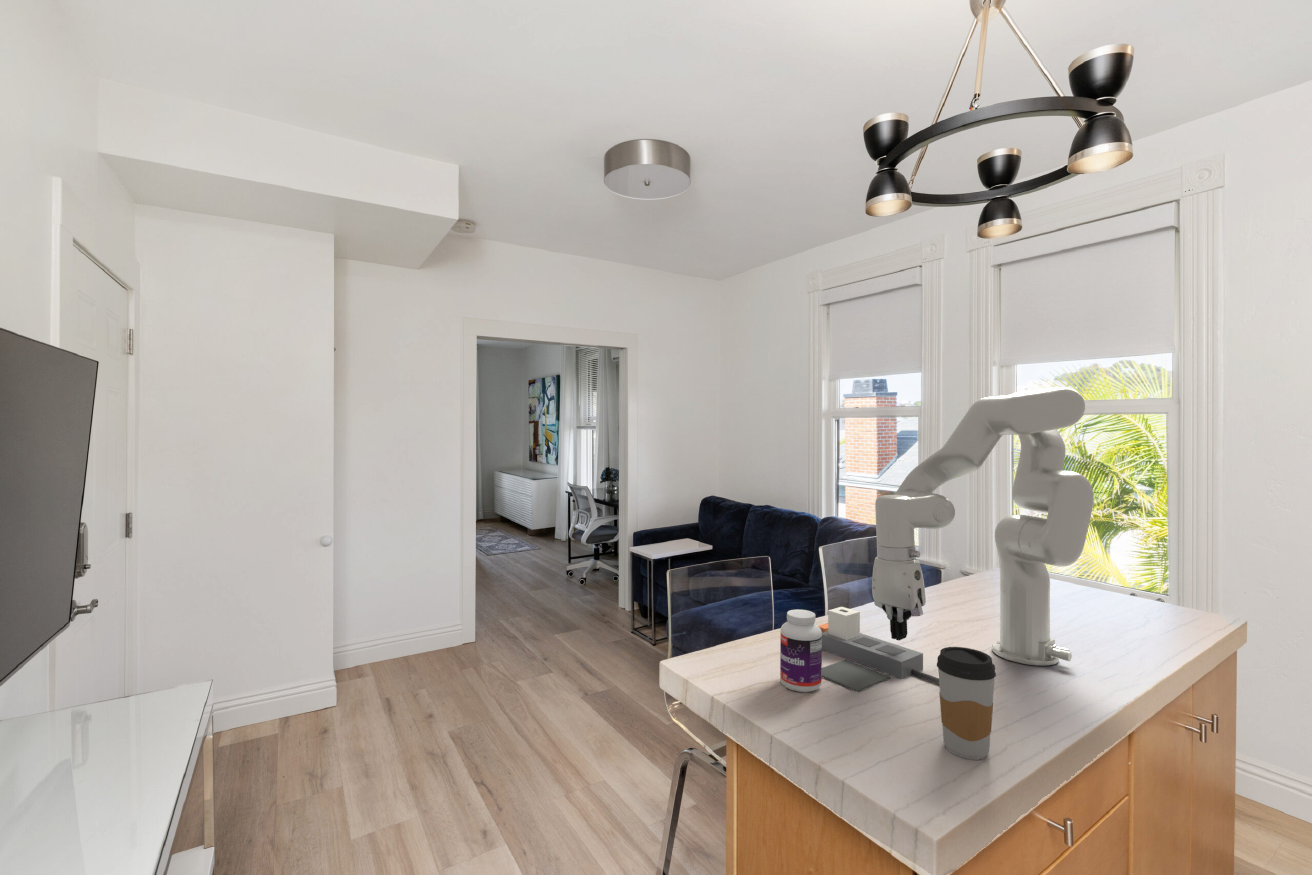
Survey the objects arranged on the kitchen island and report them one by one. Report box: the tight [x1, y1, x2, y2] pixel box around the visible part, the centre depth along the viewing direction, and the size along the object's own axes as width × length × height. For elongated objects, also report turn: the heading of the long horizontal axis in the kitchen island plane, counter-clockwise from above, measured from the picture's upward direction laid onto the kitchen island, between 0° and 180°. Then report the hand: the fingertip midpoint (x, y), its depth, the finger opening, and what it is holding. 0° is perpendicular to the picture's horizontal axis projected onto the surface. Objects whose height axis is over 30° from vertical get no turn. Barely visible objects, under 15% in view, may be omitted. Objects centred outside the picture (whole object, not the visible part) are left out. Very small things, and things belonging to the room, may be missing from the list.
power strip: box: [817, 622, 939, 684], centre depth 125 cm, size 36×8×4 cm, turn 35°
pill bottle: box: [779, 609, 823, 693], centre depth 115 cm, size 8×8×14 cm
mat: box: [822, 658, 892, 693], centre depth 119 cm, size 11×11×1 cm
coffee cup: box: [936, 646, 997, 761], centre depth 91 cm, size 8×8×15 cm
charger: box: [827, 606, 861, 640], centre depth 134 cm, size 5×5×6 cm
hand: (899, 637), depth 123 cm, fingers closed
